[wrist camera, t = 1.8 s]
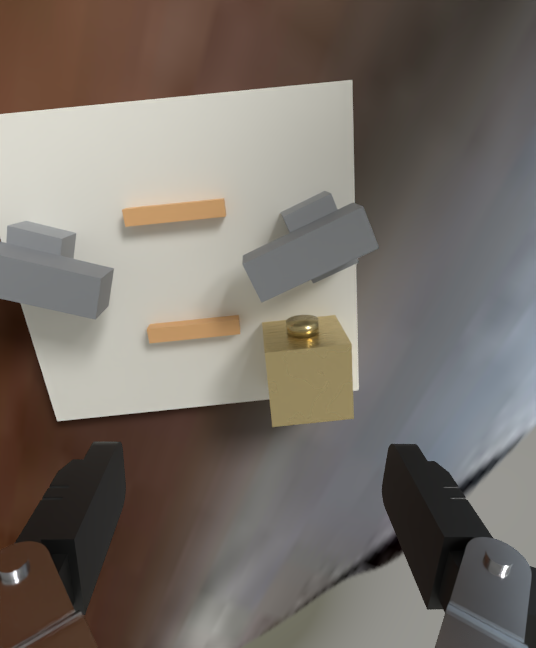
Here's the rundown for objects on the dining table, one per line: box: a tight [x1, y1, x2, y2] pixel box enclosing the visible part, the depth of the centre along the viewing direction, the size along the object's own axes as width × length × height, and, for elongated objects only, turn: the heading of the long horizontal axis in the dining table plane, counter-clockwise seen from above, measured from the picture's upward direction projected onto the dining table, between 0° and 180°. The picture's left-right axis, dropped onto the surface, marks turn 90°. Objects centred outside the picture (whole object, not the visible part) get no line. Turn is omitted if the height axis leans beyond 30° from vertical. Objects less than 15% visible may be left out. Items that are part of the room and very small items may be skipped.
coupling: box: [262, 315, 354, 427], centre depth 28 cm, size 7×5×5 cm
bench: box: [0, 80, 379, 421], centre depth 26 cm, size 22×20×6 cm
